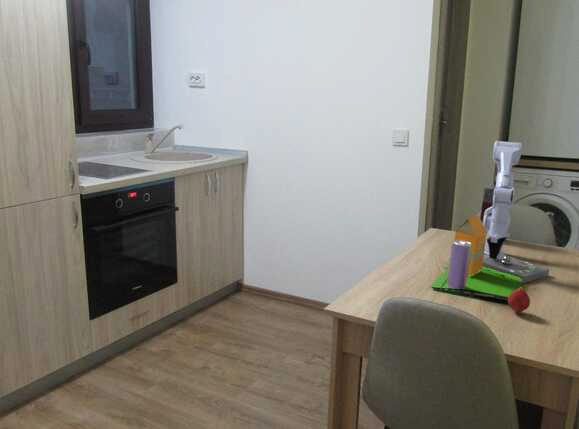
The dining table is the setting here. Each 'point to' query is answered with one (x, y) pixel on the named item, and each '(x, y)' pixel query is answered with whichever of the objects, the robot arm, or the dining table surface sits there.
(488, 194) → the toy vending machine
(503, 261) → the dial pointer
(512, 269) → the dial plate
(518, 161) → the robot arm
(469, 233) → the orange juice
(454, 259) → the beverage can
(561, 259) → the dining table surface
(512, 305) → the red round lump
